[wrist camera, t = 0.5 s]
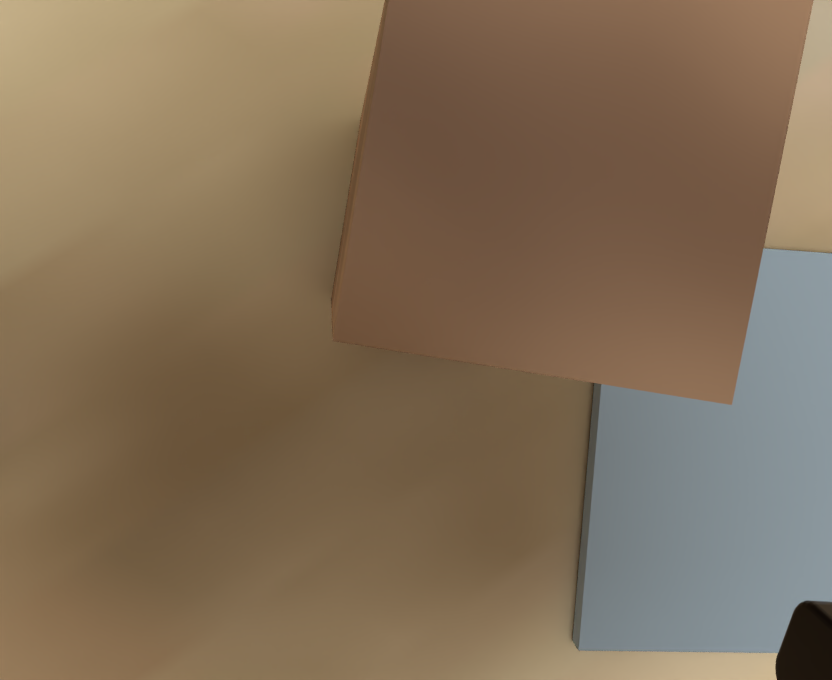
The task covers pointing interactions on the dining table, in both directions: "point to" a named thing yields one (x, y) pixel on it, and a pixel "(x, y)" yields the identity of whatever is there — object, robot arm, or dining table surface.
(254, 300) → the dining table surface
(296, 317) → the dining table surface
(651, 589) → the slate mat
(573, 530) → the dining table surface
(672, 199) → the walnut block
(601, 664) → the dining table surface
